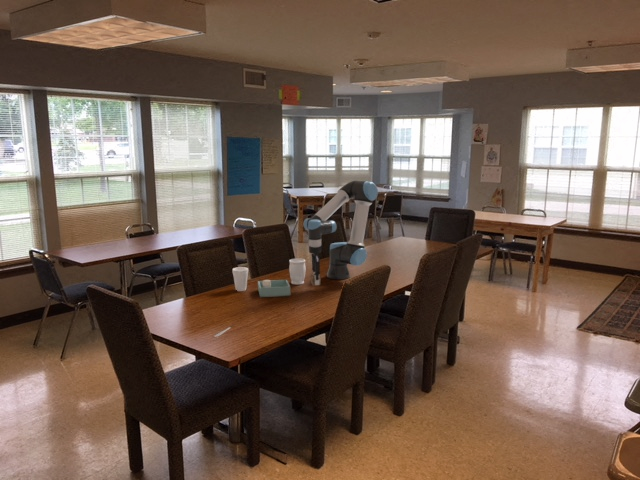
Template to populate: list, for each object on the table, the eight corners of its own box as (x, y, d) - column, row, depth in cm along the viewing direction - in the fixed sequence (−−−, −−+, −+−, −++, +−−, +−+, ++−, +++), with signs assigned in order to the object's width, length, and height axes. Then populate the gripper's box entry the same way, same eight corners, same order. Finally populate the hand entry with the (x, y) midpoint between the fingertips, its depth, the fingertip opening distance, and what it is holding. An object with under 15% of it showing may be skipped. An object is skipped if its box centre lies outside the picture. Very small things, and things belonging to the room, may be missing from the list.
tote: (287, 288, 312) (286, 279, 311) (290, 295, 297) (290, 286, 296) (258, 289, 309) (257, 281, 308) (260, 297, 293) (259, 288, 292)
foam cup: (252, 289, 310) (251, 268, 308) (241, 292, 303) (241, 271, 300) (240, 286, 316) (239, 266, 313) (229, 290, 308) (229, 269, 306)
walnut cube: (319, 282, 309) (319, 274, 308) (320, 285, 305) (320, 277, 304) (311, 283, 309) (311, 275, 308) (312, 285, 304) (312, 277, 303)
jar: (303, 285, 318) (303, 262, 315) (287, 284, 320) (287, 261, 317) (307, 281, 328) (307, 258, 325) (291, 280, 330) (291, 257, 327)
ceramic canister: (270, 290, 305) (270, 279, 303) (271, 293, 300) (271, 281, 298) (262, 291, 304) (262, 279, 302) (263, 293, 299) (262, 282, 298)
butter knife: (211, 335, 234) (217, 336, 233) (241, 318, 259) (246, 318, 258) (211, 337, 234) (217, 337, 233) (241, 319, 259) (246, 319, 258)
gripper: (306, 243, 310) (307, 279, 315) (311, 249, 292) (312, 288, 297) (318, 242, 311) (319, 278, 316) (324, 248, 294) (325, 287, 299)
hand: (316, 283), depth 307 cm, fingers closed on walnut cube, 5 cm apart
